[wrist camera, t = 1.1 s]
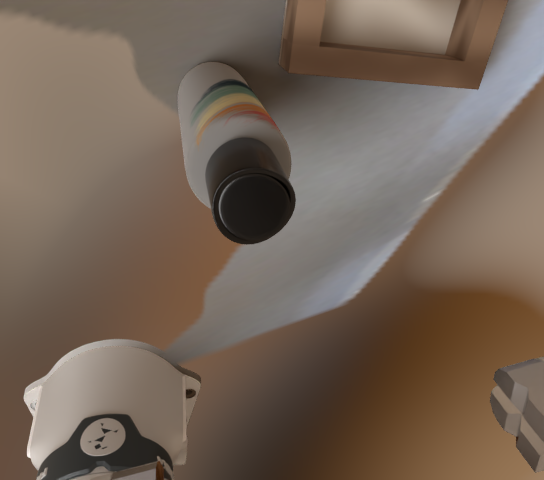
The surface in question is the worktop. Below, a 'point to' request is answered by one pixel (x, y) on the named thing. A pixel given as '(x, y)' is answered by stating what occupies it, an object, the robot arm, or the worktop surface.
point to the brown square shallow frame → (391, 39)
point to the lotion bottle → (234, 154)
